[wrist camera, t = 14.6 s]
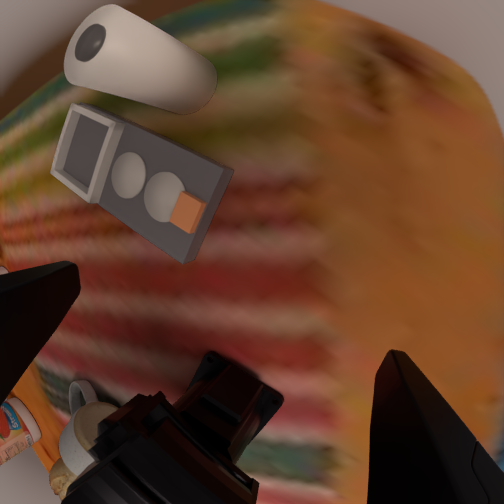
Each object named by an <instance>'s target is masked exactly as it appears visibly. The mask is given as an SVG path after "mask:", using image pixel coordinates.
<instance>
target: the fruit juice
mask: <svg viewBox="0 0 504 504" xmlns="http://www.w3.org/2000/svg"><path fill="white" fill-rule="evenodd" d="M40 438H41V432H40V429H39V427H38V425H37V423H36V421H35V420H34V418H33V416H32V415H31V413H30V412H29V410H28V409H27V408H26V406H25V405H24V404H23V403H22V402H21V401H20V400H19V399H18V398H15V397H14V398H10V399H8V400H7V401H5V402H3V404H2V405H1V407H0V465H2V464H3V463H5V462H7V461H8V460H10V459H11V458H12V457H14V456H16V455H17V454H19V453H20V452H22V451H23V450H25V449H26V448H28V447H29V446H31V445H32V444H34V443H35V442H37V441H38V440H39V439H40Z"/></svg>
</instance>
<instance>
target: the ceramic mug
mask: <svg viewBox="0 0 504 504" xmlns="http://www.w3.org/2000/svg"><path fill="white" fill-rule="evenodd" d="M80 391H82V394H83V396H84V399H85V401H86V404H85V405H84V406H82V405H81V398H80ZM69 404H70V410H71V415H72V417H71V419H70V421H69V423H68V424H67V425H66V427H65V428H64V430H63V431H62V433H61V435H60V439H59V451H60V455H61V457H62V460H63V462H64V463H65V465H66V466H67V467H68V468H69V470H70V471H72V472H73V473H74V474H75V475H77V476H79V475H80V474H81V473H82V472H83V471H84V470H85V468H86V467H87V466H88V465H90V464H91V463H92V462H93V461H95V460H94V459H93V458H92V457H91V456H90V455H89V453H88V452H87V451H88V450H89V449H90V448H91V447H92V446H94V445H95V443H94V442H93V440H95V439H96V438H97V424H98V423H99V422H100V421H102V420H103V419H104V418H106V417H107V416H109V415H110V414H112V413H113V412H115V411H116V410H118V409H119V408H118V407H116V406H114V405H112V404H109V403H106V402H98V398H97V395H96V393H95V391H94V389H93V387H92V385H91V384H90V383H89V382H88V381H85V380H79V381H73V382H72V383H71V385H70V388H69Z"/></svg>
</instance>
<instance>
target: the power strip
mask: <svg viewBox="0 0 504 504" xmlns="http://www.w3.org/2000/svg"><path fill="white" fill-rule="evenodd" d="M233 172H234V170H232V169H230V168H228V167H226V166H224V165H222V164H220V163H218V162H216V161H214V160H212V159H210V158H208V157H206V156H204V155H202V154H200V153H198V152H196V151H194V150H192V149H190V148H188V147H186V146H184V145H182V144H179V143H177V142H175V141H173V140H171V139H169V138H167V137H165V136H162V135H160V134H158V133H156V132H154V131H152V130H149V129H147V128H145V127H143V126H141V125H138V124H136V123H134V122H132V121H129V120H127V119H125V118H122V117H120V116H118V115H116V114H113V113H111V112H109V111H106V110H104V109H101V108H99V107H97V106H94V105H91V104H86V103H81V102H80V104H76V103H71V106H70V109H69V112H68V115H67V118H66V120H65V123H64V126H63V130H62V133H61V136H60V139H59V143H58V146H57V149H56V153H55V156H54V160H53V164H52V168H51V172H50V173H51V174H52V175H53V176H54V177H56V178H57V179H58V180H59V181H61V182H62V183H63V184H64V185H66V186H67V187H68V188H70V189H71V190H72V191H73V192H75V193H76V194H77V195H79V196H80V197H81V198H82V199H84V200H85V201H86V202H88V203H89V204H91V203H97V204H98V205H100V206H101V207H102V208H104V209H105V210H106V211H108V212H109V213H110V214H112V215H113V216H115V217H116V218H117V219H119V220H120V221H121V222H123V223H124V224H126V225H127V226H128V227H130V228H131V229H133V230H134V231H135V232H137V233H138V234H140V235H141V236H142V237H144V238H145V239H147V240H148V241H150V242H151V243H152V244H154V245H155V246H157V247H158V248H160V249H161V250H162V251H164V252H165V253H167V254H168V255H170V256H171V257H173V258H174V259H176V260H177V261H178V262H180V263H181V264H185V263H187V262H190V261H193V260H195V258H196V255H197V253H198V251H199V248H200V246H201V244H202V241H203V239H204V237H205V235H206V232H207V230H208V228H209V225H210V223H211V221H212V219H213V216H214V214H215V212H216V210H217V207H218V205H219V203H220V201H221V199H222V196H223V194H224V192H225V190H226V188H227V185H228V183H229V181H230V179H231V177H232V175H233Z"/></svg>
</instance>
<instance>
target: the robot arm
mask: <svg viewBox="0 0 504 504" xmlns="http://www.w3.org/2000/svg"><path fill="white" fill-rule="evenodd" d="M80 290H81V285H80V278H79V270H78V266H77V265H76V264H75V263H72V262H70V261H60V262H56V263H51V264H46V265H42V266H37V267H33V268H28V269H24V270H19V271H15V272H10V273H6V274H1V275H0V407H1V405H2V404H3V402H4V401H5V399H6V398H7V396H8V395H9V393H10V392H11V390H12V389H13V387H14V386H15V385H16V383H17V382H18V380H19V379H20V377H21V376H22V375H23V373H24V372H25V370H26V369H27V368H28V366H29V365H30V364H31V362H32V361H33V359H34V358H35V357H36V355H37V354H38V353H39V351H40V350H41V349H42V347H43V346H44V345H45V344H46V342H47V341H48V340H49V338H50V337H51V336H52V334H53V333H54V332H55V330H56V329H57V327H58V326H59V324H60V323H61V321H62V320H63V318H64V317H65V315H66V314H67V312H68V311H69V309H70V308H71V306H72V305H73V303H74V302H75V300H76V299H77V297H78V296H79V294H80ZM210 357H212V358H213V360H214V361H213V360H211V359H210ZM274 399H276V400H278V401H279V402H276V401H275V400H274ZM283 402H284V398H283V396H282V395H280V394H279V393H277V392H275V391H274V390H272V389H270V388H269V387H267V386H266V385H264V384H262V383H261V382H259V381H258V380H256V379H254V378H253V377H251V376H250V375H248V374H247V373H245V372H243V371H242V370H240V369H239V368H237V367H236V366H234V365H233V364H231V363H230V362H228V361H227V360H225V359H224V358H222V357H221V356H219V355H218V354H216V353H215V352H212V351H210V352H208V353H207V354H206V355H205V356H204V358H203V360H202V362H201V364H200V366H199V368H198V370H197V372H196V374H195V375H194V377H193V379H192V381H191V383H190V385H189V387H188V389H187V391H186V393H185V394H184V395H183V396H181V397H180V398H179V399H178V400H177V401H176V402H175V403H174V404H173V405H171V404H170V403H169V402H168V401H167V400H166V396H165V395H164V394H163V393H162V392H161V391H159V392H158V393H157V394H155V395H154V396H153V397H152V396H151V395H149V396H145V395H142V394H137V395H136V396H135V397H134V398H132V399H131V400H130V401H129V402H127V403H126V404H125V405H123V406H122V407H121V408H119V409H118V410H116V411H115V412H113V413H112V414H110V415H109V416H107V417H106V418H104V419H103V420H102V421H100V422H99V423H98V424H97V438H96V439H95V440H93V442H94V443H95V445H94V446H92V447H91V448H90V449H89V450H88V451H87V452H88V453H89V455H90V456H91V457H92V458H93V459H94V460H95V461H93V462H92V463H91V464H90V465H88V466H87V467H86V468H85V470H84V471H83V472H82V473H81V474H80V475H79V476H78V477H77V478H76V479H75V480H74V481H73V482H72V483H71V484H70V485H69V486H68V488H67V492H66V497H65V498H64V499H63V500H62V502H61V504H256V500H257V494H258V488H259V482H257V481H256V480H255V479H254V478H250V477H249V476H248V475H246V474H245V473H244V472H243V471H242V470H240V469H239V468H238V467H237V466H236V465H235V464H236V463H237V461H238V460H239V458H240V456H241V455H242V453H243V451H244V450H245V448H246V446H247V445H248V444H249V443H250V442H251V441H252V440H253V439H254V437H255V436H256V435H257V434H258V433H259V432H260V431H261V430H262V428H263V427H264V426H265V425H266V424H267V423H268V421H269V420H270V419H271V418H272V417H273V415H274V414H275V413H276V412H277V411H278V409H279V408H280V407H281V406H282V404H283ZM476 440H477V439H476V438H475V436H474V435H473V434H472V433H471V431H470V430H469V429H468V427H467V426H466V425H465V424H464V422H463V421H462V420H461V419H460V417H459V416H458V415H457V414H456V412H455V411H454V410H453V409H452V408H451V406H450V405H449V404H448V403H447V401H446V400H445V399H444V398H443V397H442V395H441V394H440V393H439V392H438V391H437V389H436V388H435V387H434V386H433V385H432V383H431V382H430V381H429V380H428V379H427V377H426V376H425V375H424V374H423V373H422V371H421V370H420V369H419V368H418V367H417V366H416V364H415V363H414V362H413V361H412V360H411V359H410V357H409V356H408V355H407V354H406V353H405V352H403V351H399V350H393V349H391V350H389V351H388V353H387V354H386V356H385V358H384V360H383V362H382V363H381V365H380V367H379V369H378V371H377V373H376V376H375V384H374V395H373V405H372V414H371V423H370V452H369V479H368V496H367V504H504V472H503V471H502V470H501V469H500V468H499V467H498V465H497V464H496V463H495V462H494V460H493V459H492V458H491V457H490V455H489V454H488V453H487V452H486V450H485V449H484V448H483V447H482V445H481V444H480V443H479V441H476Z"/></svg>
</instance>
